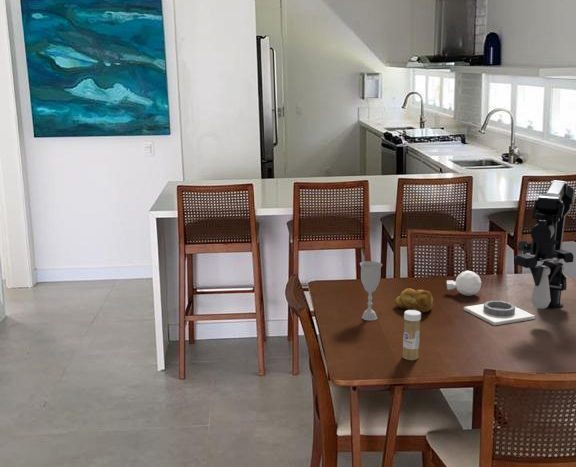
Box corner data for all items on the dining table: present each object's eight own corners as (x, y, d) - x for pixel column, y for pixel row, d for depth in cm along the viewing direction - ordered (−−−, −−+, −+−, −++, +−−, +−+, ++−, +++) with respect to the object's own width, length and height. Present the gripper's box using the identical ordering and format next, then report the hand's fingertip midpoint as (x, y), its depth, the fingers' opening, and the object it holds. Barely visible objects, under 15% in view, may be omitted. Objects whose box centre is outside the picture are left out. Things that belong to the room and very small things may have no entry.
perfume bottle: (481, 286, 260) (447, 287, 263) (480, 264, 256) (445, 267, 258) (483, 300, 253) (448, 302, 256) (482, 278, 248) (446, 281, 251)
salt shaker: (551, 310, 223) (554, 269, 220) (531, 308, 224) (534, 268, 221) (548, 304, 229) (551, 264, 226) (529, 302, 230) (532, 263, 227)
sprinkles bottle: (399, 358, 201) (401, 312, 198) (407, 353, 205) (409, 308, 202) (413, 362, 198) (415, 316, 195) (421, 357, 202) (424, 311, 199)
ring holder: (502, 303, 247) (503, 295, 246) (534, 318, 232) (535, 309, 232) (463, 309, 241) (464, 301, 240) (494, 325, 226) (495, 316, 226)
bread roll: (390, 309, 241) (391, 287, 239) (401, 301, 249) (402, 279, 247) (427, 316, 235) (429, 293, 233) (437, 308, 243) (438, 285, 241)
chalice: (383, 316, 235) (385, 262, 230) (376, 322, 229) (378, 268, 224) (362, 312, 238) (363, 260, 233) (355, 319, 232) (356, 265, 227)
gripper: (551, 228, 232) (547, 274, 235) (504, 233, 225) (500, 281, 228) (576, 235, 222) (572, 284, 225) (528, 241, 215) (524, 291, 218)
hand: (541, 285), depth 225 cm, fingers closed on salt shaker, 4 cm apart
